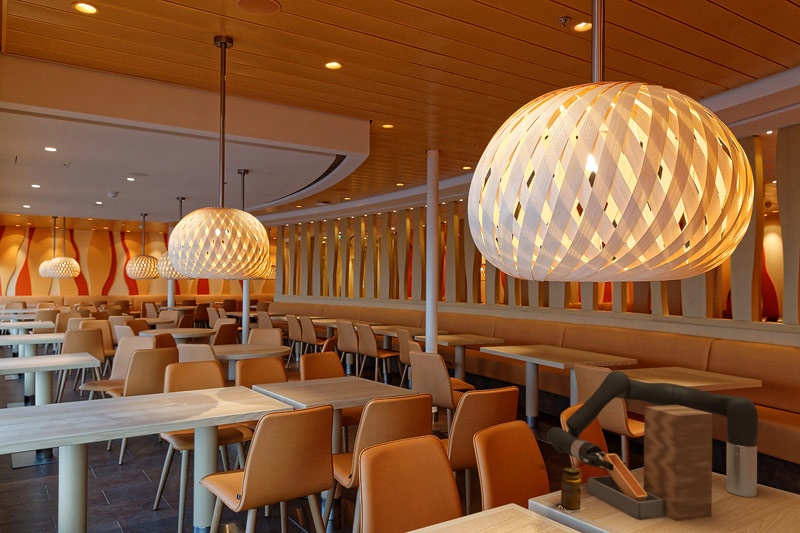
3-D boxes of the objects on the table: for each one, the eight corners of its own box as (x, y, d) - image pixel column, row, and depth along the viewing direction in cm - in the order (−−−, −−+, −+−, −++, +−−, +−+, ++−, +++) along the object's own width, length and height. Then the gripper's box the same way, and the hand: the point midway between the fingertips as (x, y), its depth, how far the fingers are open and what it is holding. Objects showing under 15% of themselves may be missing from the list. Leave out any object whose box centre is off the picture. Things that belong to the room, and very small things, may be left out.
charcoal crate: (587, 492, 200) (587, 477, 200) (611, 489, 203) (611, 475, 203) (638, 519, 177) (638, 503, 177) (664, 516, 180) (664, 500, 180)
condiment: (586, 508, 185) (586, 471, 185) (568, 514, 180) (569, 475, 180) (568, 501, 191) (568, 464, 191) (550, 506, 186) (551, 468, 186)
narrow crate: (600, 462, 198) (604, 454, 196) (611, 461, 199) (615, 453, 198) (632, 506, 183) (637, 497, 181) (643, 504, 184) (648, 496, 183)
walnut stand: (643, 504, 190) (644, 406, 191) (676, 500, 194) (677, 404, 196) (676, 520, 177) (677, 415, 178) (711, 516, 181) (712, 413, 182)
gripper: (570, 443, 207) (601, 457, 190) (602, 440, 211) (636, 454, 195) (569, 464, 206) (601, 480, 190) (602, 461, 211) (635, 476, 195)
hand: (618, 466), depth 193 cm, fingers closed on narrow crate, 4 cm apart
